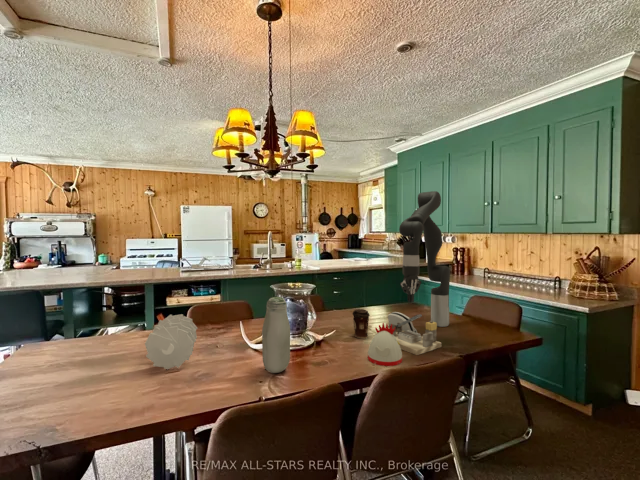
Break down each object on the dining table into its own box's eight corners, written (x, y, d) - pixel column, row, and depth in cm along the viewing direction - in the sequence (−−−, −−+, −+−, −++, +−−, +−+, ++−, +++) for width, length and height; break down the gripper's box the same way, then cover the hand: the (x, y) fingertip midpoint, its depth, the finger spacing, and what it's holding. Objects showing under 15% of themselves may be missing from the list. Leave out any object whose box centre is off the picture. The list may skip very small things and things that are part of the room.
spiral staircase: (187, 358, 145) (180, 380, 121) (147, 344, 140) (132, 364, 116) (205, 319, 147) (202, 333, 123) (167, 305, 143) (156, 316, 119)
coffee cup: (350, 337, 160) (350, 311, 159) (354, 333, 167) (354, 307, 167) (367, 340, 156) (367, 313, 156) (371, 335, 164) (371, 309, 164)
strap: (398, 327, 159) (397, 325, 159) (422, 316, 147) (421, 313, 147) (393, 329, 157) (392, 326, 157) (417, 317, 145) (416, 314, 145)
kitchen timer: (400, 368, 124) (400, 329, 124) (364, 363, 129) (364, 325, 129) (403, 355, 138) (403, 320, 137) (371, 351, 142) (371, 317, 142)
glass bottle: (278, 379, 115) (278, 301, 114) (257, 372, 120) (256, 297, 120) (295, 369, 123) (295, 296, 123) (274, 363, 129) (274, 293, 128)
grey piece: (417, 332, 168) (412, 315, 166) (411, 336, 166) (406, 319, 164) (396, 324, 183) (391, 308, 181) (389, 328, 181) (385, 312, 179)
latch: (431, 327, 151) (431, 319, 151) (436, 329, 149) (436, 321, 149) (425, 329, 149) (425, 320, 149) (431, 330, 146) (431, 322, 146)
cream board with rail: (403, 334, 165) (403, 319, 165) (441, 346, 147) (441, 330, 147) (379, 340, 155) (379, 325, 155) (416, 355, 137) (417, 337, 137)
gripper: (413, 263, 157) (413, 298, 157) (394, 264, 149) (394, 302, 150) (426, 264, 150) (426, 301, 151) (407, 266, 143) (407, 305, 143)
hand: (410, 301), depth 150 cm, fingers closed
